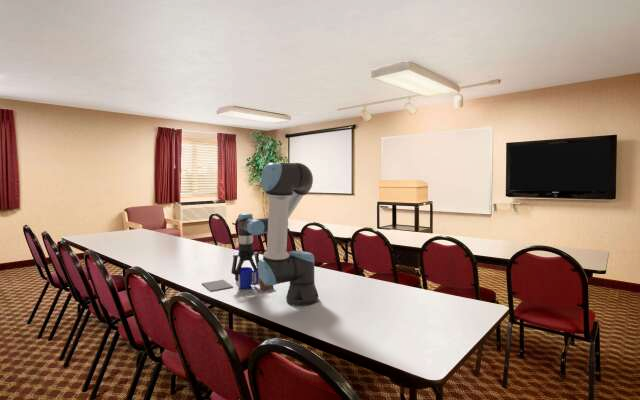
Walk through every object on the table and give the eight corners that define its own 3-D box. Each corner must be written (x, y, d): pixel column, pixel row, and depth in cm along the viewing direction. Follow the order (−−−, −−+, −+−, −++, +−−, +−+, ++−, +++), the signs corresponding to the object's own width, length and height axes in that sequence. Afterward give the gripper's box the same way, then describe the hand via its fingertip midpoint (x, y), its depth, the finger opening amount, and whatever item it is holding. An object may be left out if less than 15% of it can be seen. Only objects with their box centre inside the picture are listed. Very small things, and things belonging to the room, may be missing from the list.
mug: (255, 290, 185) (255, 271, 184) (234, 289, 187) (233, 270, 187) (261, 285, 193) (261, 267, 192) (240, 284, 195) (240, 266, 195)
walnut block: (273, 288, 189) (273, 279, 188) (266, 290, 185) (265, 281, 185) (267, 286, 192) (267, 277, 192) (259, 288, 188) (259, 279, 188)
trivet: (233, 287, 191) (232, 286, 191) (210, 291, 184) (210, 290, 184) (223, 280, 204) (223, 279, 204) (201, 284, 198) (201, 283, 198)
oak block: (261, 281, 201) (261, 273, 201) (252, 283, 199) (252, 274, 199) (259, 279, 206) (259, 271, 205) (250, 280, 204) (250, 272, 203)
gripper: (261, 239, 197) (262, 280, 199) (223, 243, 186) (224, 286, 187) (267, 241, 191) (267, 283, 192) (228, 246, 179) (229, 290, 181)
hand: (246, 285), depth 190 cm, fingers closed on mug, 8 cm apart
